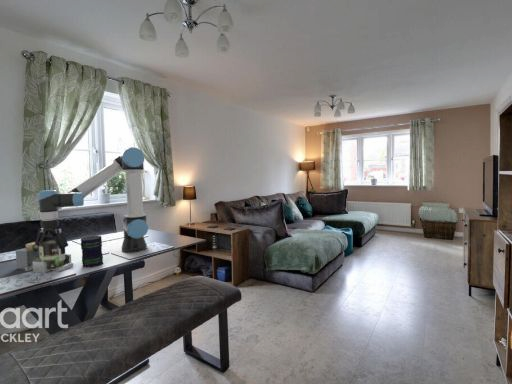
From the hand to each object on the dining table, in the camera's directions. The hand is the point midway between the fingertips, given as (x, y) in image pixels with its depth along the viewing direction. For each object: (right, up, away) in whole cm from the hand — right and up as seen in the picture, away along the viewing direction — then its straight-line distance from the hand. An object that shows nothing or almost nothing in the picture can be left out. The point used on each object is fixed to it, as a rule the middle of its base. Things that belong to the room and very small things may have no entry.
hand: (52, 259), depth 144 cm
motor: (-5, -5, +2) cm, 7 cm away
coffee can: (0, -5, 0) cm, 5 cm away
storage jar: (+19, -4, +4) cm, 20 cm away
